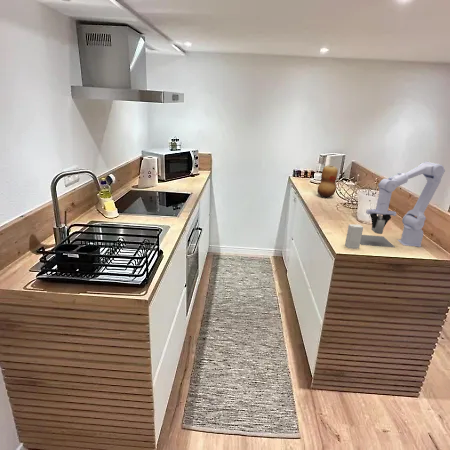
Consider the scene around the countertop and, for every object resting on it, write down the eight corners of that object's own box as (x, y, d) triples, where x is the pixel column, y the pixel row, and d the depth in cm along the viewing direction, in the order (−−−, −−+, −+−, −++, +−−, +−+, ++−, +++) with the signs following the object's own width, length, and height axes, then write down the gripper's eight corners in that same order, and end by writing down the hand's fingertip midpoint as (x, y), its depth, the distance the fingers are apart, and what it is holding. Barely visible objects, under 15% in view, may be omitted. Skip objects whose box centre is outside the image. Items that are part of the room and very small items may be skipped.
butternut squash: (321, 199, 270) (326, 167, 262) (313, 194, 282) (318, 164, 274) (337, 199, 273) (343, 167, 265) (329, 194, 286) (334, 164, 277)
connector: (377, 228, 186) (381, 213, 183) (383, 234, 178) (387, 218, 175) (370, 228, 186) (373, 213, 183) (375, 233, 178) (379, 217, 175)
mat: (383, 237, 197) (383, 236, 196) (395, 248, 181) (395, 247, 181) (351, 234, 197) (351, 234, 197) (360, 245, 182) (360, 244, 181)
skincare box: (355, 246, 180) (359, 224, 176) (359, 249, 176) (364, 227, 172) (344, 245, 180) (348, 223, 176) (347, 249, 175) (352, 226, 171)
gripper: (394, 201, 180) (388, 226, 185) (366, 199, 181) (361, 224, 185) (400, 205, 174) (394, 230, 178) (371, 203, 174) (365, 228, 178)
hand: (377, 227), depth 181 cm, fingers closed on connector, 4 cm apart
